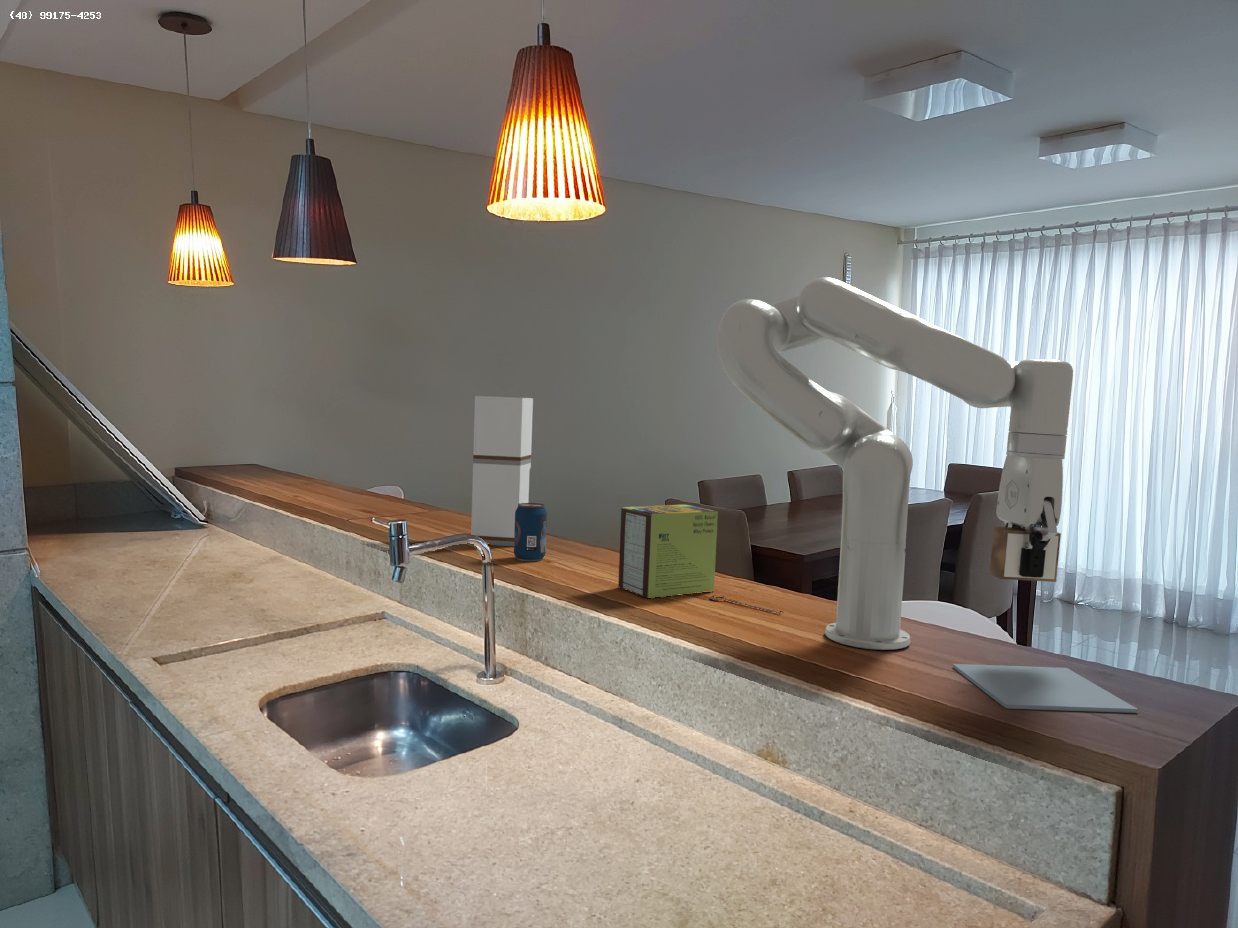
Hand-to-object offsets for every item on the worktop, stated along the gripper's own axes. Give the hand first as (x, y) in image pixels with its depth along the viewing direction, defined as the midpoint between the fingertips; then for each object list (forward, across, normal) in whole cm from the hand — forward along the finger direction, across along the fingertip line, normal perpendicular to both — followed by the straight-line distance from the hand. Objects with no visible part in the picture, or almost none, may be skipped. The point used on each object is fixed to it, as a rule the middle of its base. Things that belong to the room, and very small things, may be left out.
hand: (1023, 572), depth 123 cm
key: (+14, -28, -34) cm, 46 cm away
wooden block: (+1, 0, 0) cm, 1 cm away
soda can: (+15, -64, -76) cm, 100 cm away
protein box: (+14, -38, -48) cm, 63 cm away
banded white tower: (+15, -85, -85) cm, 121 cm away
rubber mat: (+13, +13, -3) cm, 19 cm away
